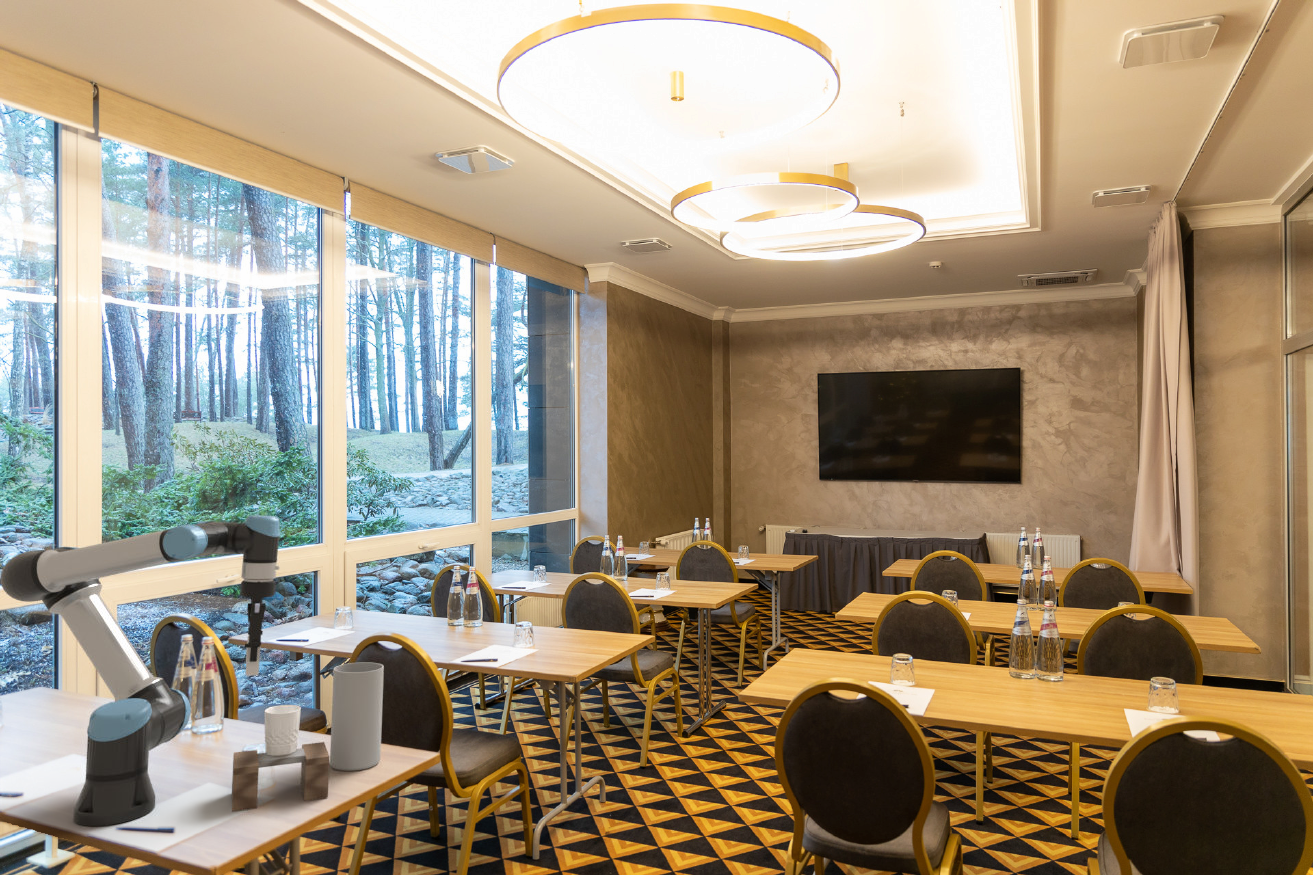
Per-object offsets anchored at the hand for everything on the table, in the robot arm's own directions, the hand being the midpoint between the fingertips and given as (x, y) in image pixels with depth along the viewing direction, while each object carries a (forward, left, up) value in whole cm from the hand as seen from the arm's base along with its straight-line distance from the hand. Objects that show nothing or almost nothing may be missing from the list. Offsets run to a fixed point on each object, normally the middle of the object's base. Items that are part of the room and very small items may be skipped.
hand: (251, 668), depth 199 cm
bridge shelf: (+7, -6, -29) cm, 30 cm away
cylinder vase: (+26, +10, -29) cm, 40 cm away
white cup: (+7, -4, -20) cm, 21 cm away
